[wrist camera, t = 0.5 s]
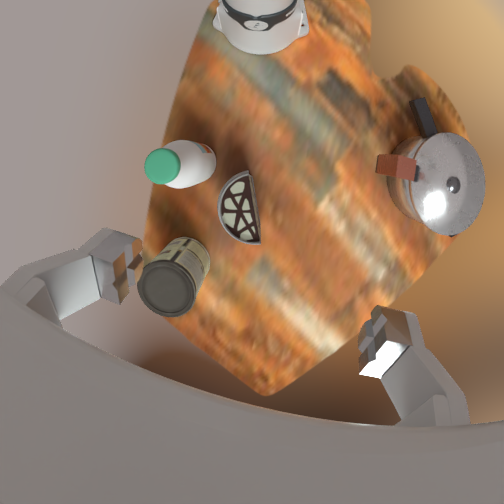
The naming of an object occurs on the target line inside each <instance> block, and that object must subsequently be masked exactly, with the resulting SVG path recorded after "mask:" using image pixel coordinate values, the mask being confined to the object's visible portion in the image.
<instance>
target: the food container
mask: <svg viewBox="0 0 504 504" xmlns="http://www.w3.org/2000/svg"><path fill="white" fill-rule="evenodd" d="M217 209H218V215H219V219H220V221H221V224H222V226H223V227H224V229H225V230H226V231H227V232H228V233H229V235H231V236H232V237H233V238H235V239H236V240H238V241H240V242H243V243H246V244H253V245H258V244H261V235H260V219H259V213H258V207H257V201H256V195H255V190H254V184H253V178H252V176H251V175H250V174H249V170H247V171H243V172H241V173H238V174H236V175H235V176H233V177H232V178H231V179H230V180H228V181H227V183H226V184H225V185H224V186H223V188H222V190H221V192H220V195H219V198H218V206H217Z"/></svg>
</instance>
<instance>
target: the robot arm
mask: <svg viewBox="0 0 504 504" xmlns="http://www.w3.org/2000/svg"><path fill="white" fill-rule="evenodd" d="M219 3H220V5H219V7H217V14H216V16H215V18H214V20H213V26H214V28H216V29H217V30H219V31H221V32H222V33H224V35H225V36H226V37H227V39H228V40H229V42H230V43H231V44H232V45H234V46H235V47H236V48H238V49H240V50H242V51H245V52H248V53H252V54H270V53H275V52H278V51H280V50H282V49H284V48H286V47H287V46H288V45H290V44H291V43H292V42H293V41H294V40H295V39H297V38H300V37H303V36H305V35H307V34H308V33H309V25H308V20H307V15H306V10H305V5H304V0H219ZM301 24H302V25H304V26H301ZM142 249H143V248H142V241H141V240H140V239H139V238H136V237H133V236H130V235H127V234H125V233H121V232H118V231H115V230H112V229H108V228H102V229H101V230H100V231H99V232H98V233H96V234H95V235H94V236H93V237H92V238H91V239H89V240H88V241H87V242H86V243H85V244H84V245H82V246H81V247H80V248H79V249H78V250H75V249H73V250H70V251H66V252H63V253H60V254H57V255H54V256H51V257H48V258H45V259H42V260H39V261H36V262H33V263H30V264H27V265H24V266H22V267H20V268H19V269H18V270H17V271H16V272H14V274H12V275H11V276H10V277H9V278H8V279H7V280H6V281H5V282H4V283H3V284H2V285H1V286H0V504H504V420H502V421H496V422H488V423H480V424H470V418H469V413H468V408H467V403H466V398H465V394H464V393H463V392H462V390H461V389H460V388H459V387H458V385H457V384H456V383H455V381H454V380H453V379H452V377H450V375H449V374H448V373H447V371H446V370H445V369H444V367H443V366H442V365H441V364H440V362H439V361H438V360H437V359H436V357H435V356H434V355H433V354H432V353H431V351H430V350H428V349H426V348H425V345H424V341H423V337H422V334H421V329H420V326H419V323H418V319H417V316H416V315H415V314H414V313H411V312H406V311H400V310H396V309H392V308H388V307H384V306H379V305H377V306H376V307H375V308H374V309H373V310H372V312H371V318H372V319H370V320H368V321H366V322H365V323H364V325H363V326H362V328H361V330H360V333H359V336H358V348H359V350H360V351H361V352H362V354H361V356H360V357H359V374H363V375H368V376H373V377H378V378H381V379H380V380H381V381H382V383H383V385H384V387H385V389H386V391H387V393H388V394H389V397H390V398H391V400H392V402H393V404H394V406H395V408H396V410H397V412H398V414H399V415H400V417H401V421H400V422H398V423H397V424H396V425H394V426H382V425H381V426H380V425H368V424H357V423H347V422H339V421H332V420H325V419H318V418H312V417H306V416H301V415H295V414H290V413H285V412H280V411H276V410H271V409H267V408H262V407H258V406H254V405H250V404H247V403H243V402H239V401H235V400H232V399H228V398H225V397H221V396H218V395H215V394H212V393H208V392H205V391H202V390H199V389H196V388H193V387H190V386H187V385H184V384H182V383H179V382H176V381H173V380H171V379H168V378H165V377H163V376H160V375H158V374H155V373H153V372H150V371H148V370H145V369H143V368H141V367H138V366H136V365H134V364H131V363H129V362H127V361H125V360H122V359H120V358H118V357H116V356H114V355H112V354H109V353H108V352H106V351H104V350H102V349H99V348H98V347H95V346H94V345H92V344H90V343H88V342H86V341H84V340H82V339H80V338H79V337H77V336H75V335H73V334H71V333H70V332H68V331H66V330H64V329H63V327H62V324H61V322H60V320H61V319H63V318H65V317H66V316H68V315H70V314H72V313H74V312H76V311H78V310H79V309H81V308H83V307H85V306H87V305H89V304H91V303H93V302H94V301H96V300H98V299H100V297H101V298H104V299H106V300H109V301H111V302H114V303H117V304H119V305H120V304H121V303H122V301H123V300H124V299H125V297H126V296H127V295H128V293H129V287H130V286H133V285H135V284H136V283H137V282H138V281H139V279H140V277H141V274H142V272H143V258H142V257H141V255H140V254H139V253H140V252H141V250H142Z"/></svg>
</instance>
